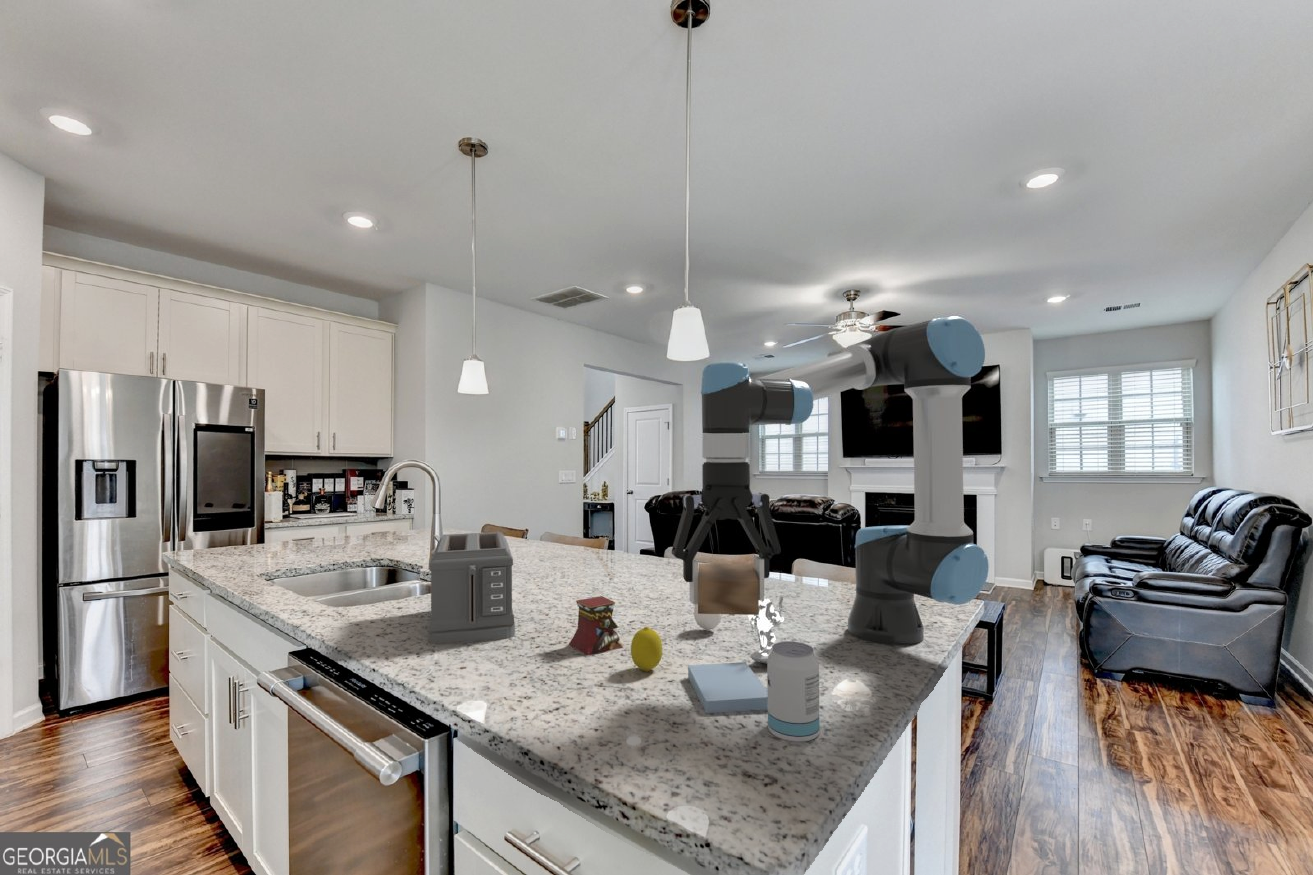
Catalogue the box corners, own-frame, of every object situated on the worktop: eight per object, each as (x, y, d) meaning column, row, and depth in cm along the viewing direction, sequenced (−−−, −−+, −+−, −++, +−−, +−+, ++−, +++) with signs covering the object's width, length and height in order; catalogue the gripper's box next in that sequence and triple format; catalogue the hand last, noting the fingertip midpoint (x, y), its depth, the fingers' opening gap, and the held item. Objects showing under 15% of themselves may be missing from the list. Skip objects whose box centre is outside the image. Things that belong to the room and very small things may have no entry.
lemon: (647, 664, 107) (646, 620, 107) (668, 672, 103) (668, 626, 103) (624, 672, 103) (624, 626, 103) (646, 681, 99) (645, 634, 99)
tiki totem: (587, 658, 110) (587, 609, 110) (567, 646, 117) (566, 600, 117) (626, 649, 115) (626, 602, 115) (604, 637, 122) (604, 593, 122)
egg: (688, 630, 126) (688, 594, 126) (703, 623, 131) (702, 589, 131) (713, 635, 122) (713, 599, 122) (727, 627, 127) (726, 592, 127)
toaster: (426, 652, 114) (426, 556, 114) (436, 609, 143) (436, 533, 143) (516, 643, 119) (516, 551, 119) (508, 603, 148) (507, 530, 149)
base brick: (745, 679, 101) (745, 662, 101) (772, 717, 87) (772, 696, 87) (688, 683, 99) (688, 665, 99) (706, 722, 85) (706, 701, 85)
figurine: (772, 674, 101) (772, 605, 102) (739, 667, 105) (739, 600, 105) (792, 658, 109) (792, 593, 109) (761, 651, 113) (760, 589, 113)
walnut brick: (752, 594, 99) (752, 564, 99) (758, 614, 87) (758, 581, 87) (699, 593, 100) (698, 563, 100) (698, 613, 88) (697, 580, 88)
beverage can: (775, 720, 85) (774, 637, 85) (823, 730, 82) (823, 644, 82) (761, 742, 79) (761, 652, 79) (814, 754, 76) (813, 660, 76)
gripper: (783, 459, 99) (784, 590, 99) (651, 460, 95) (652, 598, 95) (802, 460, 92) (803, 602, 92) (660, 462, 88) (661, 611, 87)
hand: (726, 600), depth 93 cm, fingers closed on walnut brick, 10 cm apart
